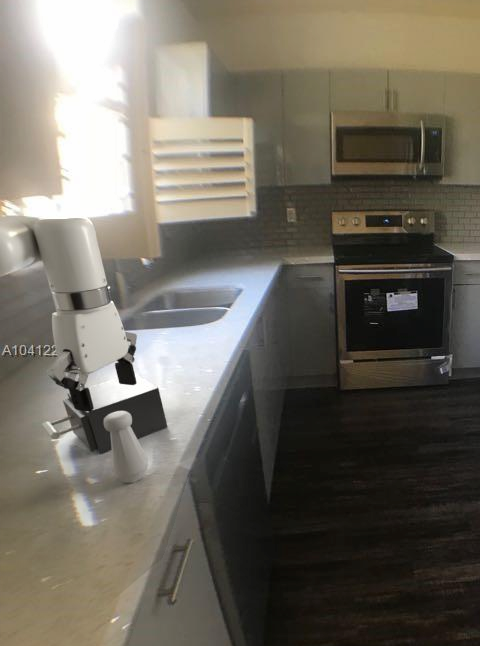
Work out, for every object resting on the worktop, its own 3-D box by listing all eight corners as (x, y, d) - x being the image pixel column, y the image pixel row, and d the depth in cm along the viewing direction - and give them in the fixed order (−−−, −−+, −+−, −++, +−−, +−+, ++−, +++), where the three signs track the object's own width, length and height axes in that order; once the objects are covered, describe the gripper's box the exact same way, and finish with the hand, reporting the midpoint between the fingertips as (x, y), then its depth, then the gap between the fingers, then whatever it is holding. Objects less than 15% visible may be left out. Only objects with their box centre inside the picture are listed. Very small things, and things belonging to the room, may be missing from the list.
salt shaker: (137, 463, 88) (121, 404, 83) (157, 471, 85) (142, 410, 81) (108, 481, 83) (89, 419, 78) (129, 489, 81) (111, 426, 76)
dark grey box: (99, 454, 91) (87, 412, 88) (79, 432, 99) (67, 393, 96) (167, 427, 100) (158, 387, 97) (144, 409, 108) (135, 372, 105)
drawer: (62, 463, 87) (50, 428, 84) (46, 442, 94) (34, 409, 91) (155, 426, 99) (147, 394, 96) (134, 410, 106) (126, 379, 103)
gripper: (104, 285, 80) (125, 373, 87) (10, 313, 65) (44, 419, 71) (141, 287, 79) (160, 377, 85) (54, 316, 63) (85, 424, 69)
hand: (107, 396), depth 78 cm, fingers open, 9 cm apart
